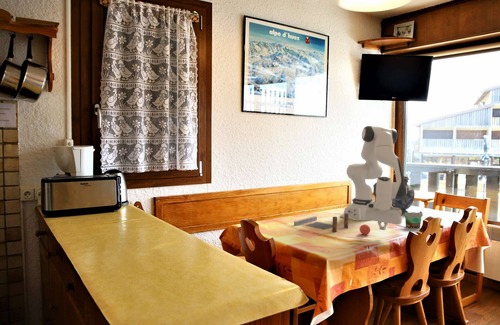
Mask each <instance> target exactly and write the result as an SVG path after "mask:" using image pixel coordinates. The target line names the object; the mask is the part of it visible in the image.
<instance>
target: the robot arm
mask: <svg viewBox="0 0 500 325" xmlns="http://www.w3.org/2000/svg"><path fill="white" fill-rule="evenodd" d="M361 138H362V141H363V145H362V149H361V151H360V155H361V158H362V160H363V161H365V163H352V164H349V165H348V166H347V168H346V175H347V177H348V178H349V179H350V180H351V181H352V182H353V185H354V190H355V193H354V194H355V195H354V196H355V197H354V198H351V202H352V203H351V204H349V205H348V206H346V207H345V208H344V210H343V213H341V214H340V217H341V218H344V213H348V214H349V219H348V220H354V221H373V222H377V224H378V227H379V229H378V230H381V231H386V227H387V226H388V224H392V225H398V226H399V225H401V224H402V219H403V218H402V215H403V214H402V210H401V209H400V210H399V208H396V207H392V199H398V200H402V199H403V198H405V197H406V195H407V188H406V185H405V181H404V177H403V176H404V173H403V167H402V162H401V159H400V158H399V156H397V155H396V154H395V151H394V144H395V143H396V142H397V139H398V132H397V130H396V129H394V128H392V127H390V128H389V127H384V126H372V125H366V126H365V127H363V130H362V132H361ZM379 163H380V164H383V165H386V166H387V167H390V168H392V169H393V170H394V173H395V181H393V182H392V179H391V177H389V176H382V175H383V168H382V166H381V165H380V164H379ZM375 179H376V182H375V183H374V184H373V188H372V187H371V186H370V185H369V184H367V183H366V180H375ZM396 180H397V182H396ZM372 196H375V201H373V199H372ZM382 223H383V226H382Z"/></svg>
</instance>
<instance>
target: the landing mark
mask: <svg viewBox="0 0 500 325" xmlns="http://www.w3.org/2000/svg"><path fill="white" fill-rule="evenodd" d="M305 226H306V227H311V228H315V229H319V230H327V229H332V224H329V223H323V222H321V221H314V222H313V223H312V222H311V223H309V224H308V223H307V224H305Z"/></svg>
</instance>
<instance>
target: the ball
mask: <svg viewBox="0 0 500 325" xmlns="http://www.w3.org/2000/svg"><path fill="white" fill-rule="evenodd" d="M359 232H360V233H361V234H362V235H364V236H365V235H369V234H370V232H371V227H370V226H369V224H362V225H360V227H359Z"/></svg>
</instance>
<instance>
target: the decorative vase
mask: <svg viewBox="0 0 500 325" xmlns="http://www.w3.org/2000/svg"><path fill="white" fill-rule="evenodd" d="M403 177H404V181H405V185H406V188H407V195H406V197H405V198H403V199H402V200H398V199H392V207H396V208H399V210H400V209H401V210H402V213H405V212H409V211H407V210H408V209H410V207H412V205H413V202H414V199H415V189H414V188H413V187H412V185H411V186H410V185H409V184H408V183H409V180H410V178H409V177H408V176H406V175H405V176H404V175H403ZM395 182H397V180H396V179H395Z"/></svg>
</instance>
